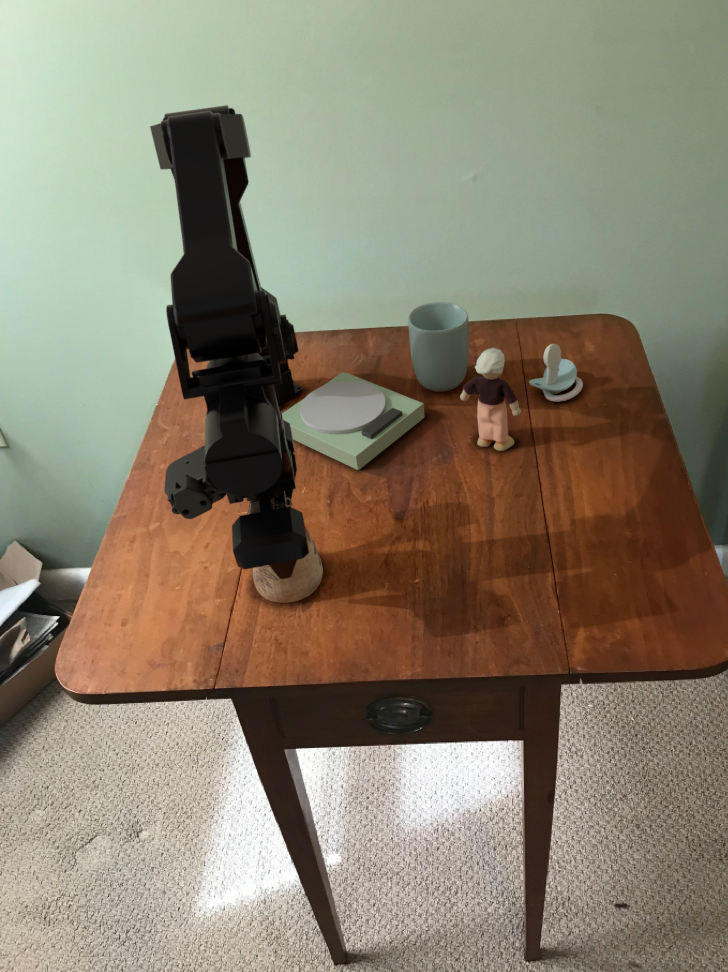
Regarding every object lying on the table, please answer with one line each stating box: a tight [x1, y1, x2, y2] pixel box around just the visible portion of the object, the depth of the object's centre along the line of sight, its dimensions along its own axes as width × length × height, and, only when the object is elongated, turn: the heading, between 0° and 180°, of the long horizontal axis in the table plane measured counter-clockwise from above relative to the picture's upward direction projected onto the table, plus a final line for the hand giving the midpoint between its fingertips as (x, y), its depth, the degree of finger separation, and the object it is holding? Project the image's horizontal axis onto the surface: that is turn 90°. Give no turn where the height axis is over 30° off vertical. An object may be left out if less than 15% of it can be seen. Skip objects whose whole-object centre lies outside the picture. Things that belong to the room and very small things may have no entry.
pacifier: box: [528, 343, 584, 403], centre depth 99 cm, size 7×6×6 cm
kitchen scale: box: [281, 371, 425, 471], centre depth 98 cm, size 14×13×3 cm
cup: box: [407, 301, 470, 393], centre depth 101 cm, size 8×8×10 cm
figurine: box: [247, 498, 324, 604], centre depth 76 cm, size 7×7×12 cm
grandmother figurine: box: [459, 347, 522, 452], centre depth 90 cm, size 8×4×13 cm, turn 71°
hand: (282, 552), depth 77 cm, fingers closed on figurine, 7 cm apart
